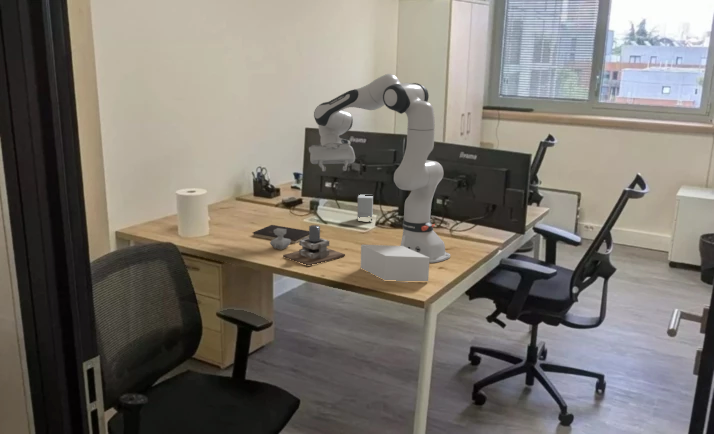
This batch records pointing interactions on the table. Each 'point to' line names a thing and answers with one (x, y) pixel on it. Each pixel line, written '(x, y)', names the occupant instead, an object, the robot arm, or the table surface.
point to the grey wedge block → (394, 263)
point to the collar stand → (313, 258)
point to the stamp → (280, 239)
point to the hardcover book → (290, 234)
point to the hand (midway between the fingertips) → (334, 170)
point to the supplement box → (365, 206)
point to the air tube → (314, 236)
